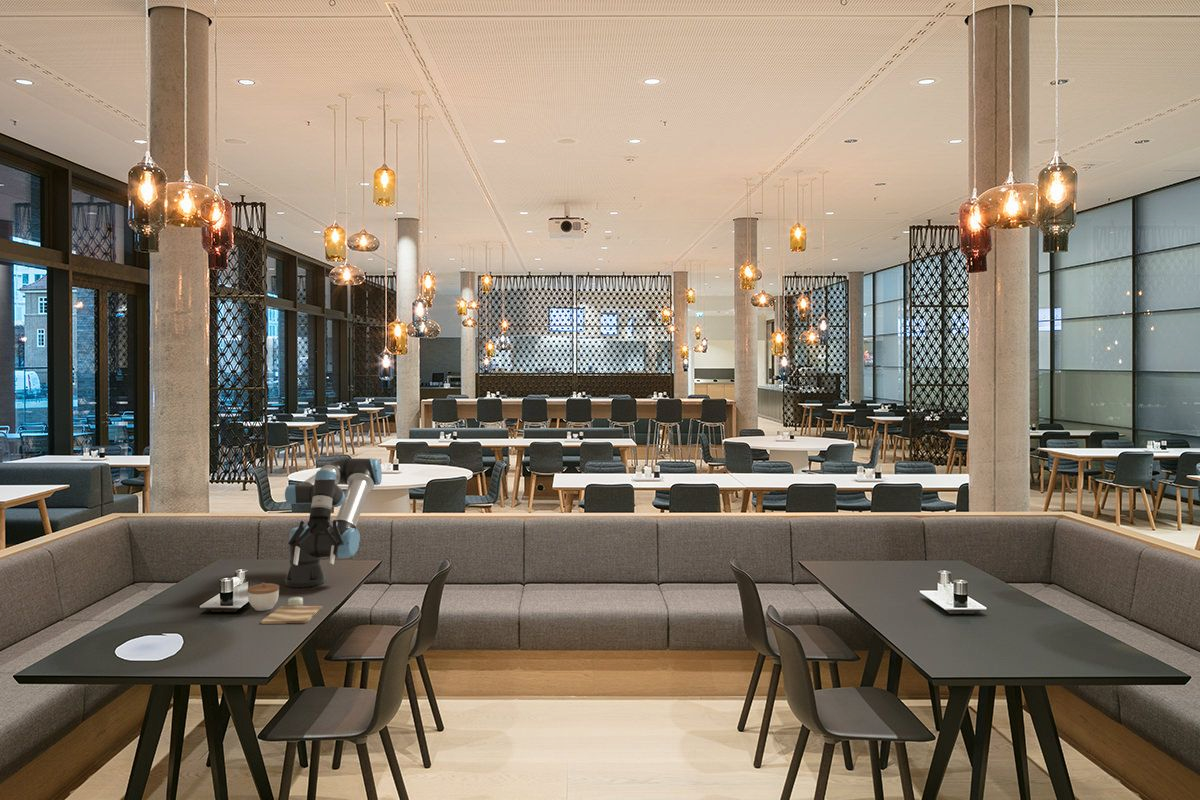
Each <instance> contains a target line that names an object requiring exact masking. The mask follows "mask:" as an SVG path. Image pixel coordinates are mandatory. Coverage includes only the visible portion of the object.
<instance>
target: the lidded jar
mask: <svg viewBox="0 0 1200 800" xmlns="http://www.w3.org/2000/svg"><path fill="white" fill-rule="evenodd" d="M246 591H247V598H248V602H249V604H250V606H251V607H252V608H253V609H254V610H255V611H258V612H260V611H261V612H263V611H268V610H272V609H273V608H274V606H275V605H276V604H277V602H278V600H279V596H280V594H279V593H280V585H279V584H276V583H265V582H261V583H260V584H259V583H258V584H254V585H251V586H248V587H247V590H246Z"/></svg>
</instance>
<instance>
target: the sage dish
mask: <svg viewBox="0 0 1200 800" xmlns="http://www.w3.org/2000/svg"><path fill="white" fill-rule="evenodd" d="M287 600H288V602H287V603H288V604H287V606H304V598H303V596H293V597H289V598H288V599H287Z"/></svg>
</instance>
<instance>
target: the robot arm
mask: <svg viewBox="0 0 1200 800" xmlns="http://www.w3.org/2000/svg"><path fill="white" fill-rule="evenodd" d="M382 475H383V474H382V466H381V462H380V460H379V459H377V458H372V457H369V458H365V457H364V458H362V457H361V458H360V457H359V458H357V457H356V458H355V457H353V458H350V457H349V458H347V457H345V458H340V459H336V460H333V461H331V462H329V463H327V464H325V465H323V466H321V468H320V469H319V470H317V471H316V473H315V474H313V475H312V476H310V477H309V478H307V479H305V480H303V482H301V483H299V484H295V483H294V484H289V485H287V486H286V488H285V491H284V499H285V502H286V503H287V504H294V505H305V504H306V505H311V506H310V508H311V509H310V511H309V516H308V517H309V520H308V521H303V520H301V521H300V522H299V526H296V527H293V528H292V529H290V531H289V534H288V535H289V538H288V545H289V546H288V547H289V567H288V569H287V573H286V577H285V579H284V581H285V586H286V587H288V588H289V587H290V588H297V587H300V588H311V587H310V586H312V587H316V585H317V586H320V585H323V584H324V583H326V575H325V573H324V570H323V567H322V565H321V564H322V563H321V559H322V558H329V564H331V565H335V558H336V559H344V558H346V559H348V558H352V557H353V556H355V555H356V553H357V552H358V550H359V547H360V540H361V534H360V531H359V530H358V528H357V524H358V521H359V518H360V516H361V513H362V510H363V508H364V505H365V501H366V499H367V496H368V493H370V492H371V491H372V490H373V489H374V487H375V486H378V485H381V483H382V479H383V477H382ZM339 485H346V486H347V489H346V493H344V491H343V489H342V488H341V487H340V486H339ZM338 507H339V510H338V513H337V515H336V517H335V519H334V520H332V521H331V516H332V515H331V514H332V508H338ZM322 583H323V584H322Z"/></svg>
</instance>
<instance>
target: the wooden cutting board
mask: <svg viewBox="0 0 1200 800" xmlns="http://www.w3.org/2000/svg"><path fill="white" fill-rule="evenodd" d="M320 609H321V610H323V605H303V606H288V605H280V606H279V607H277V608H276V609H275V610H273V612H271V613H269V614H268V615H267V616H266V617H264V618H263V619H262V620H261V624H262V625H268V624H269V625H270V624H271V625H276V624H277V625H278V624H279V625H282V624H283V625H285V624H286V623H306V622H307V621H308V622H310V620H311V619H313V618H314V617H315V616H316V615H317V614H318V613H319V612H320V611H321V610H320ZM319 610H320V611H319ZM318 611H319V612H318ZM317 612H318V613H317ZM316 613H317V614H316ZM315 614H316V615H315ZM314 615H315V616H314ZM313 616H314V617H313ZM308 622H307V623H308ZM307 623H306V624H307Z"/></svg>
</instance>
